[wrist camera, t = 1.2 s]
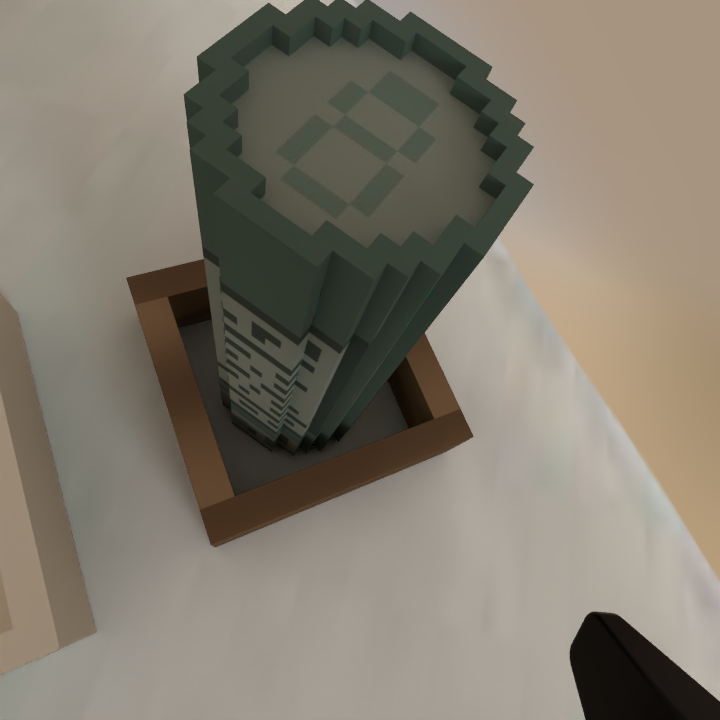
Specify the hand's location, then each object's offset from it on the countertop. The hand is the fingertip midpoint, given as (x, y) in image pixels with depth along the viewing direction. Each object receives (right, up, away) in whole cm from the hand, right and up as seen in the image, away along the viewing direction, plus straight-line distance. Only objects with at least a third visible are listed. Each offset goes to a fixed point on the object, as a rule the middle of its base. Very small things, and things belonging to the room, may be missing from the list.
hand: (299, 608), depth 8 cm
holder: (-2, +3, +16) cm, 16 cm away
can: (-2, +2, +16) cm, 16 cm away
